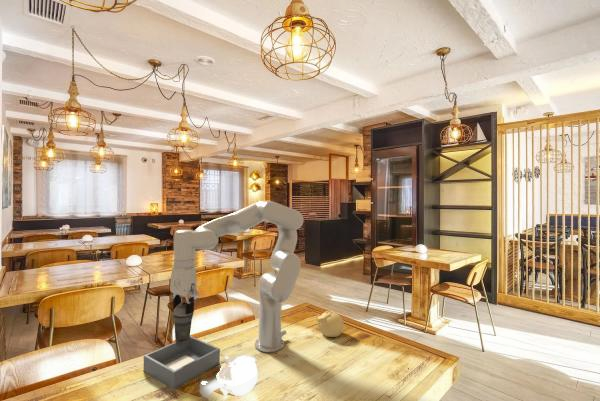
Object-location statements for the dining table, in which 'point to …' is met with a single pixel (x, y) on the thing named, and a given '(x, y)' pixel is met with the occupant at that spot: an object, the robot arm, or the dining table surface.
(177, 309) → the beverage cup
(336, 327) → the sculpture
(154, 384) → the dining table surface
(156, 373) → the walled bin
